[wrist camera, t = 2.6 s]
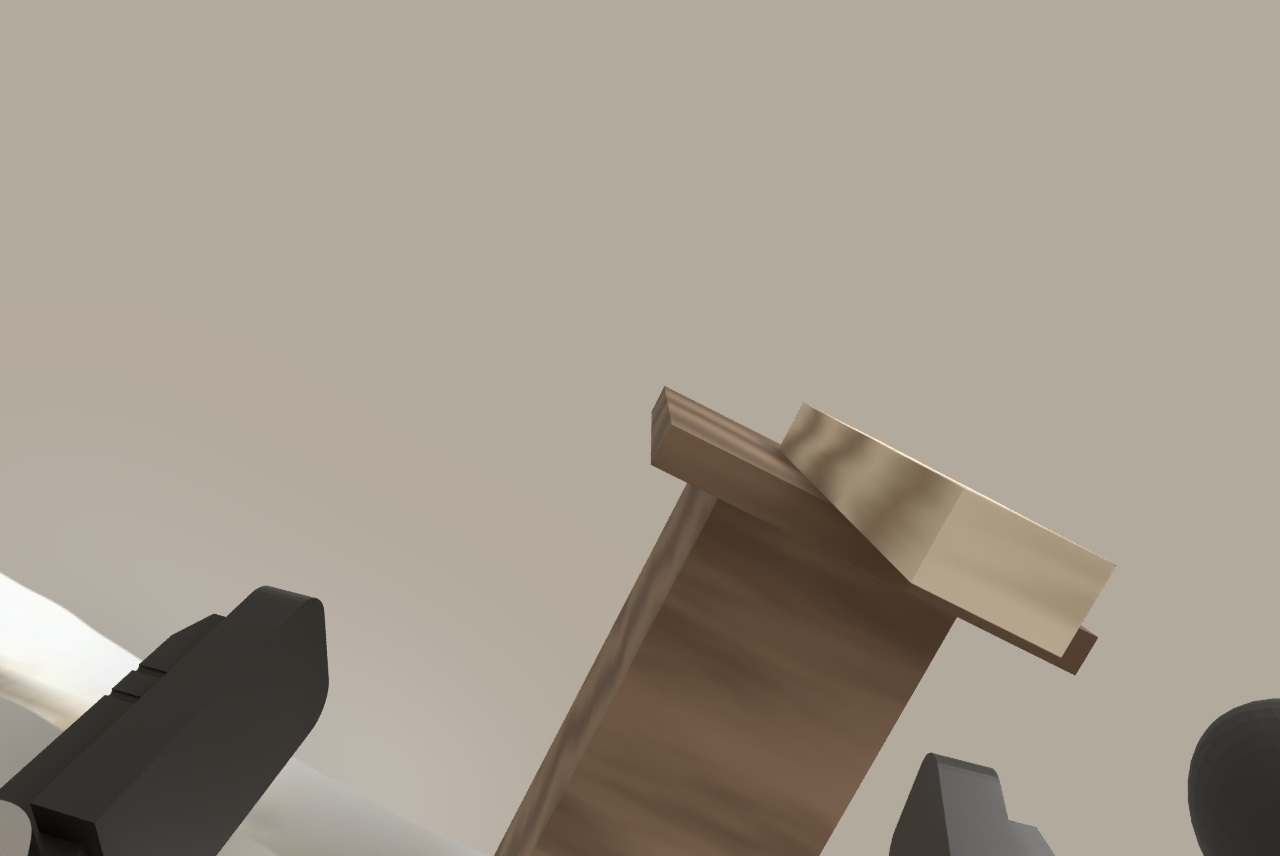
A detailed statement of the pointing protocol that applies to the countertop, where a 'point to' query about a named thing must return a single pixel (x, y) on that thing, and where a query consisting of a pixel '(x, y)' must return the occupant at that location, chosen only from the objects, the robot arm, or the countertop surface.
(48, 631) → the countertop surface
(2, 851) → the robot arm
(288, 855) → the countertop surface
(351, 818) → the countertop surface
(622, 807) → the walnut stand
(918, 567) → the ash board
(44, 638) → the countertop surface
